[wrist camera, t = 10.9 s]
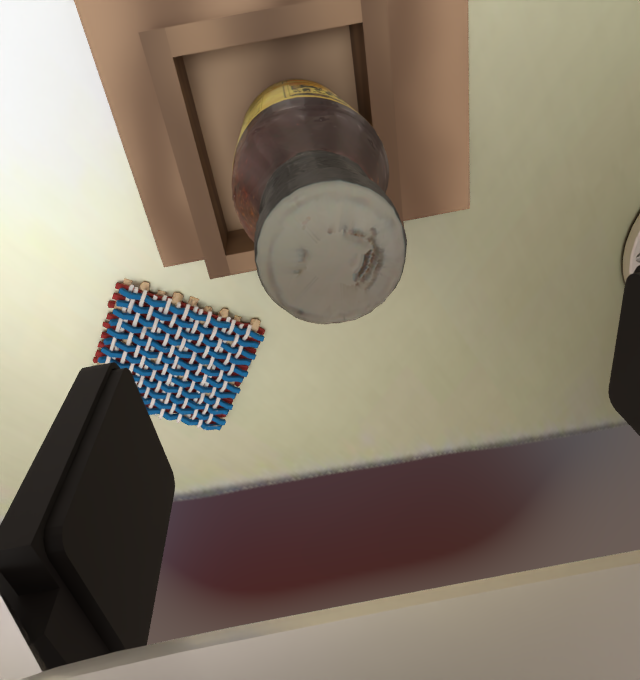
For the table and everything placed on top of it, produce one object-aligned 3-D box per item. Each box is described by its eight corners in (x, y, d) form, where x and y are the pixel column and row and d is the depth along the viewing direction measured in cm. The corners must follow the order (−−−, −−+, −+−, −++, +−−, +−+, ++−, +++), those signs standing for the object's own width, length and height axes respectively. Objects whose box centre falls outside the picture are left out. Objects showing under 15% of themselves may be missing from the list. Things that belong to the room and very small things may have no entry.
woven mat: (119, 267, 36) (113, 279, 34) (268, 317, 39) (269, 331, 37) (84, 387, 40) (76, 403, 38) (220, 423, 43) (219, 440, 41)
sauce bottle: (369, 137, 31) (512, 273, 15) (293, 210, 33) (340, 408, 16) (293, 43, 29) (359, 78, 12) (213, 128, 30) (169, 267, 13)
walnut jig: (458, -104, 27) (500, -128, 23) (463, 202, 36) (493, 229, 31) (69, -33, 27) (33, -44, 22) (166, 260, 35) (155, 294, 31)
